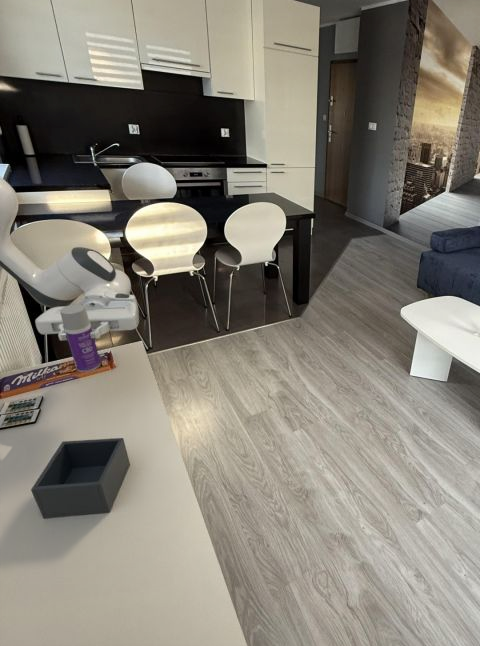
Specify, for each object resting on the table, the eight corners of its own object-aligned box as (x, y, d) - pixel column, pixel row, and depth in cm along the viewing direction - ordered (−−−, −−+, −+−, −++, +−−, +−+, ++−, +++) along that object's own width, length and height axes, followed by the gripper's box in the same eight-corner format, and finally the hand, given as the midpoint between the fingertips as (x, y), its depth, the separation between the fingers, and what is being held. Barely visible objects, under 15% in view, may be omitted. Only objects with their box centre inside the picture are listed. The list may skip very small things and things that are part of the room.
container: (90, 373, 89) (73, 315, 82) (71, 370, 89) (53, 312, 83) (105, 362, 93) (90, 305, 86) (87, 358, 93) (71, 302, 87)
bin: (43, 518, 74) (30, 489, 71) (72, 468, 84) (62, 441, 80) (109, 512, 76) (100, 484, 73) (130, 464, 86) (123, 437, 83)
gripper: (47, 297, 94) (18, 327, 83) (141, 295, 100) (127, 322, 88) (54, 320, 97) (27, 352, 85) (145, 316, 102) (132, 346, 91)
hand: (78, 336), depth 87 cm, fingers closed on container, 4 cm apart
